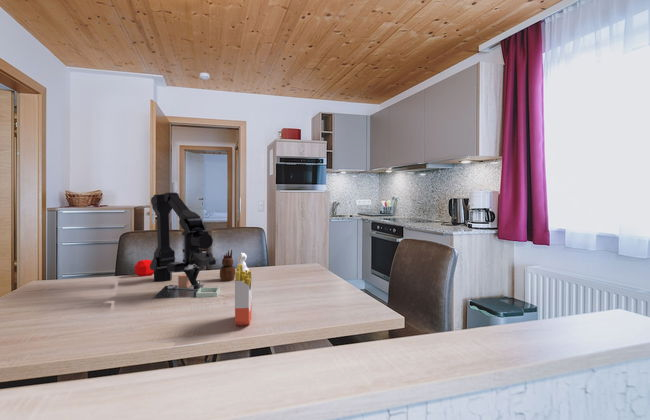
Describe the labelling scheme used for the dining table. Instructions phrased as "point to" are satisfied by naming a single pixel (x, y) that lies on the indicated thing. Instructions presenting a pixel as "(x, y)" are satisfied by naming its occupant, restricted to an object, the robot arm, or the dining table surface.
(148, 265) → the red piece
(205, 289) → the tray
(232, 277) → the wooden figurine
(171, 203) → the robot arm
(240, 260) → the sitting furry creature
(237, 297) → the french fries container
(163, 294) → the base plate
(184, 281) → the block
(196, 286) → the crank
